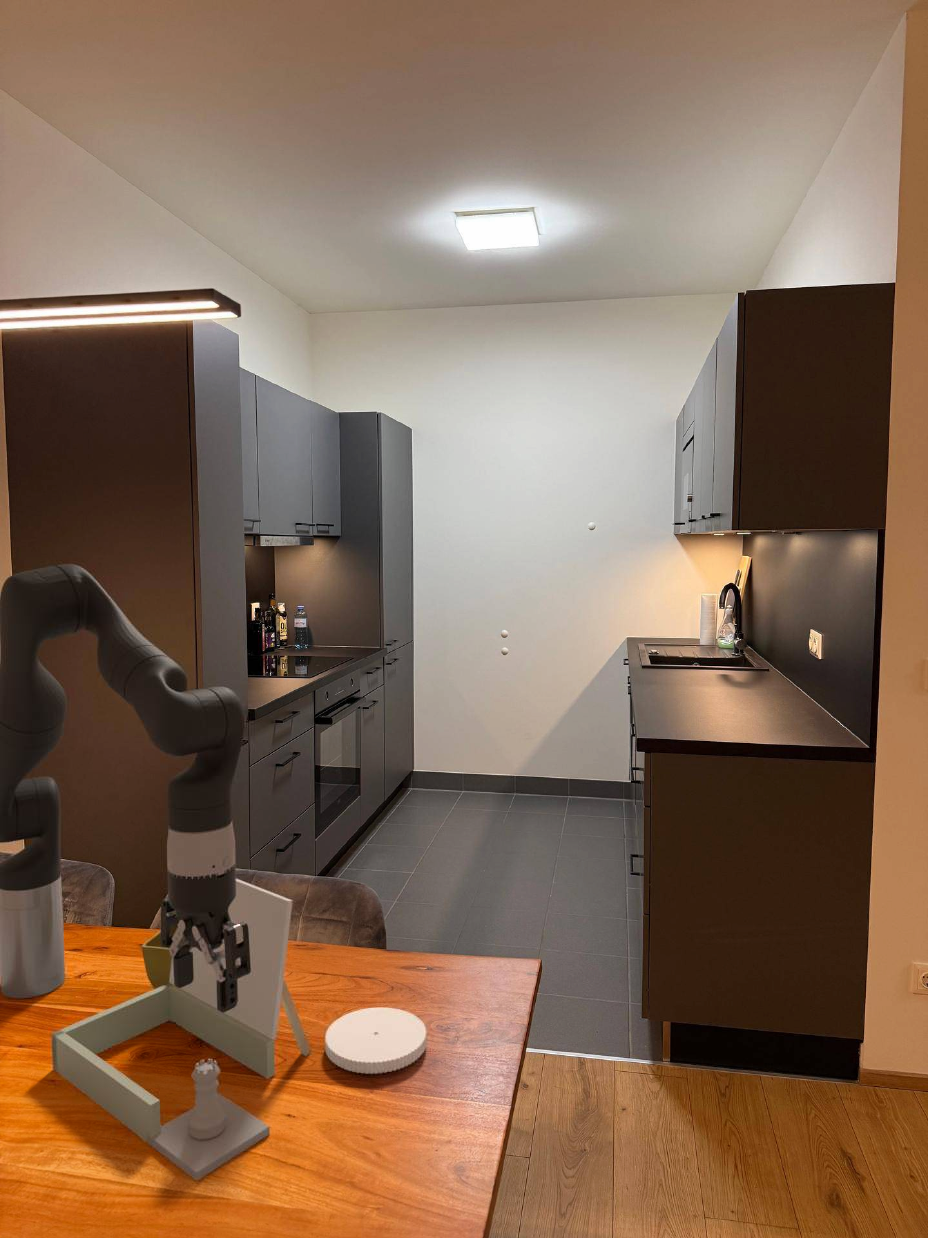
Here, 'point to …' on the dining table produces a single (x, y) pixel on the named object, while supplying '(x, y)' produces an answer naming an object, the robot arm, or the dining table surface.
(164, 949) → the flower pot
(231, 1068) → the dining table surface
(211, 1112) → the rook chess piece
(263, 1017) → the lid propped
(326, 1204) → the dining table surface
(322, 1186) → the dining table surface
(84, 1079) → the frame
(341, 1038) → the plastic lid
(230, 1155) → the slate tile
